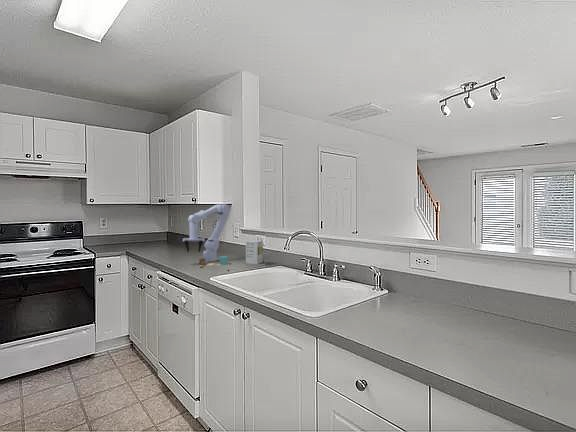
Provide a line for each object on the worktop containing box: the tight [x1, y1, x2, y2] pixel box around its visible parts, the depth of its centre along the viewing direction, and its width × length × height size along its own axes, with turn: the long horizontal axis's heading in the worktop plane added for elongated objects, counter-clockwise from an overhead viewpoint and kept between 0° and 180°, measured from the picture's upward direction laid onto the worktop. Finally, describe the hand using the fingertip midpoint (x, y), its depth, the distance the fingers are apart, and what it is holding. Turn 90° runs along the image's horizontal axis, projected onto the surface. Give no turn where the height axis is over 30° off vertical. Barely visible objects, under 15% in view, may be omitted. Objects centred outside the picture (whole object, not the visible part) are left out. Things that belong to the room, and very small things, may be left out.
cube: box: [219, 255, 229, 266], centre depth 233 cm, size 5×5×5 cm
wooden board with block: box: [198, 257, 231, 268], centre depth 233 cm, size 20×8×5 cm, turn 96°
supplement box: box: [245, 240, 264, 265], centre depth 240 cm, size 10×9×17 cm
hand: (193, 251), depth 237 cm, fingers open, 7 cm apart
